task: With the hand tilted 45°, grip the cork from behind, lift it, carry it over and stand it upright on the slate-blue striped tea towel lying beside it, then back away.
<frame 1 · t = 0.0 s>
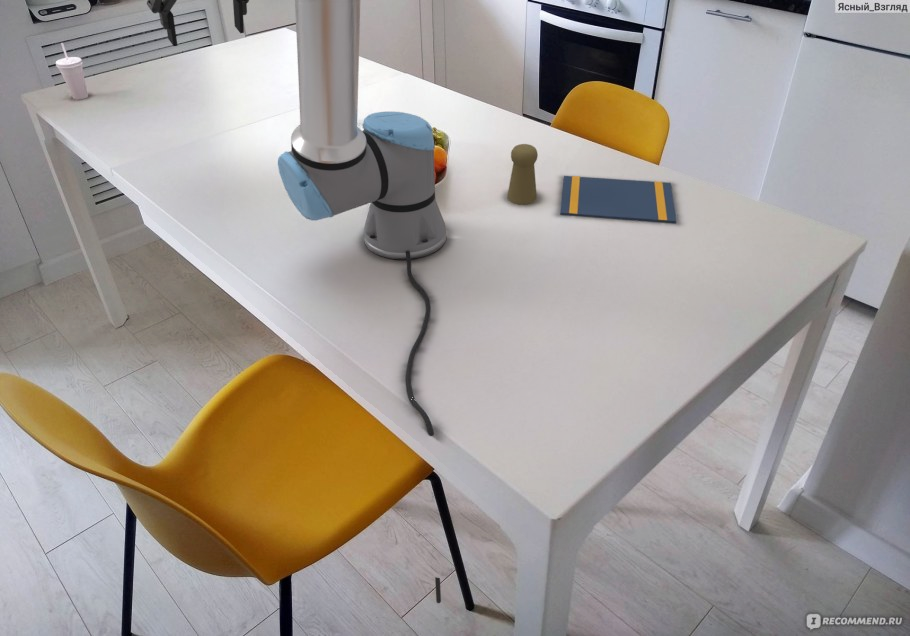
hand: (206, 35, 141), 28 cm above the table, tool tilted 20°, fingers open, 13 cm apart
smoothie: (80, 97, 193), on the table
stone sculpture: (331, 124, 176), on the table
cork: (522, 198, 145), on the table
towel: (616, 199, 144), on the table
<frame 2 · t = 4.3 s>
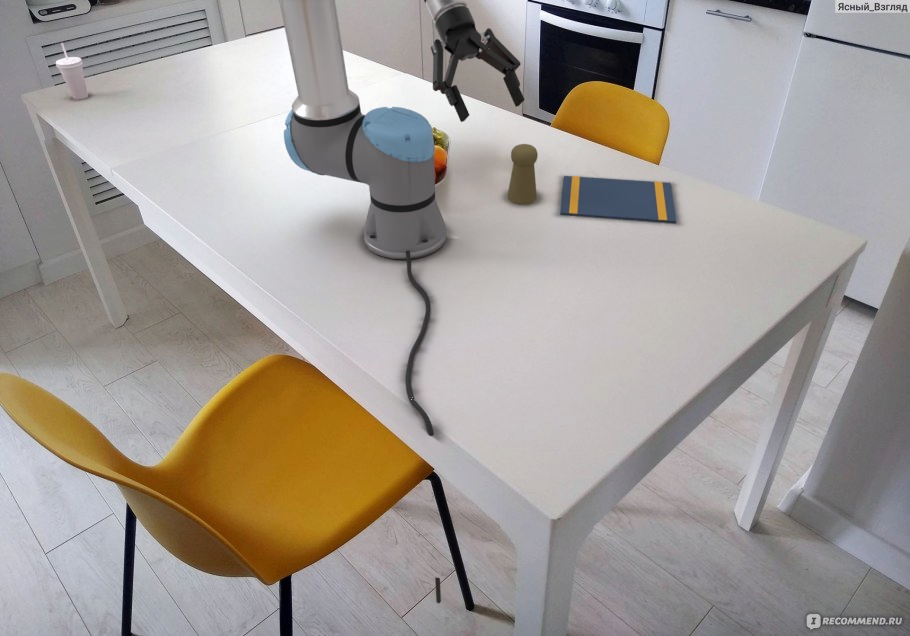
hand: (493, 111, 143), 15 cm above the table, tool tilted 45°, fingers open, 13 cm apart
nothing on the table moved.
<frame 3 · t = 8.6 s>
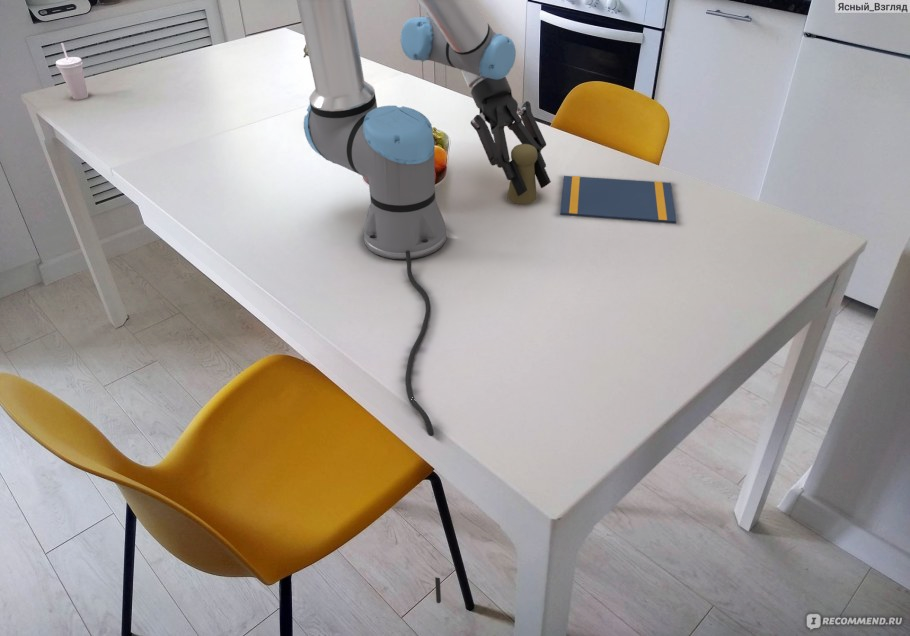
hand: (534, 188, 140), 3 cm above the table, tool tilted 45°, fingers closed on cork, 5 cm apart
cork: (521, 198, 145), on the table, touching gripper
everything else where it was.
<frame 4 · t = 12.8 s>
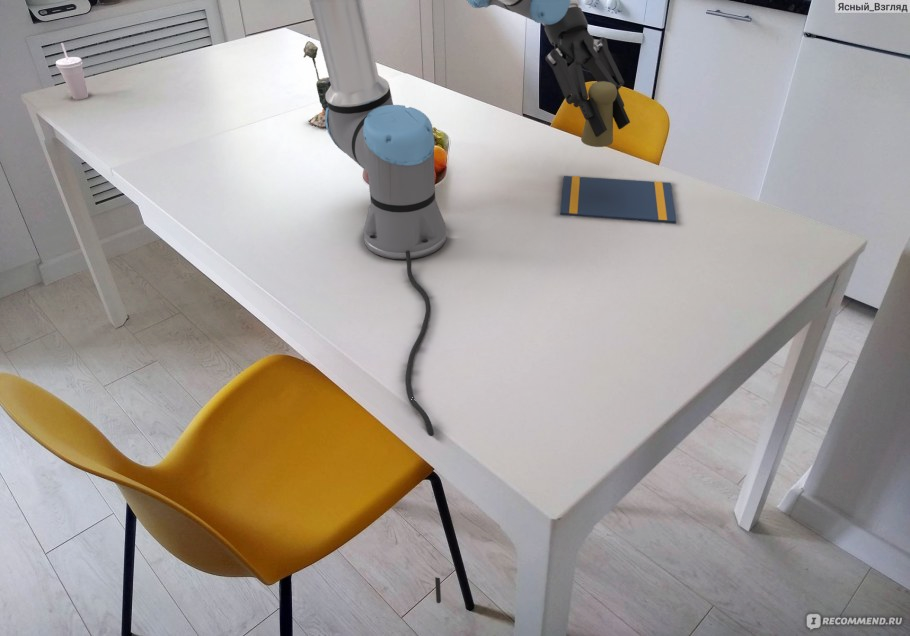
hand: (613, 129, 132), 16 cm above the table, tool tilted 45°, fingers closed on cork, 5 cm apart
cork: (596, 141, 137), point 12 cm above the table, touching gripper
everything else where it was.
when the fingers open (4 cm above the table, at t = 17.0 s): cork stays where it is, resting on towel.
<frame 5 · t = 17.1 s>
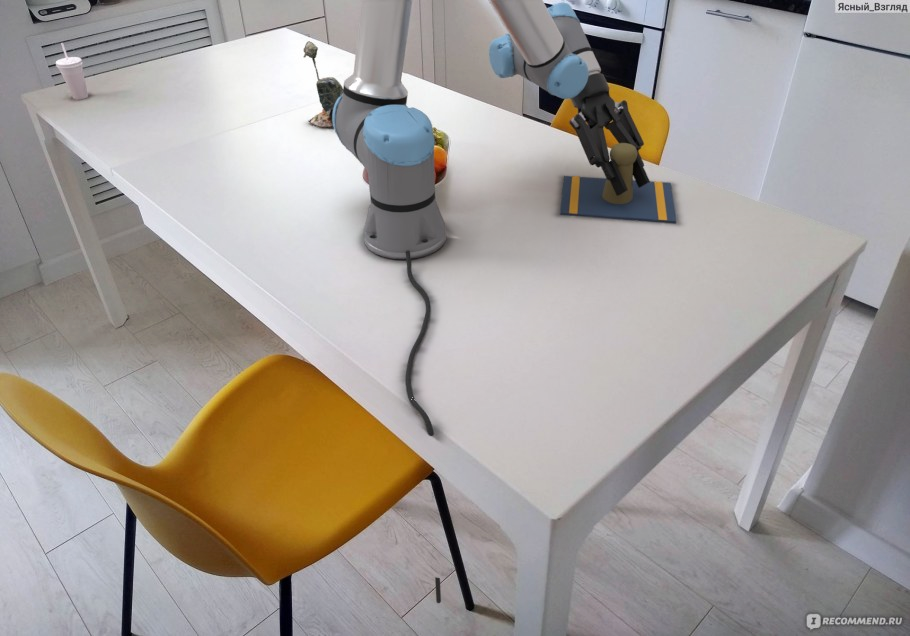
hand: (633, 188, 139), 4 cm above the table, tool tilted 45°, fingers open, 5 cm apart
cork: (617, 197, 144), resting on towel
everything else where it was.
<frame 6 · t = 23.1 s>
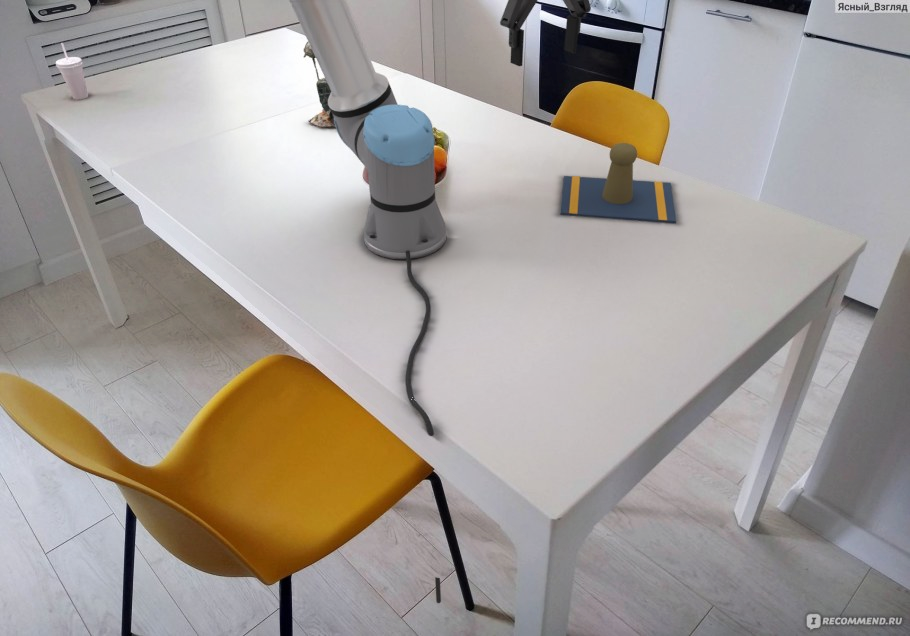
hand: (543, 58, 139), 24 cm above the table, tool pointing down, fingers open, 13 cm apart
nothing on the table moved.
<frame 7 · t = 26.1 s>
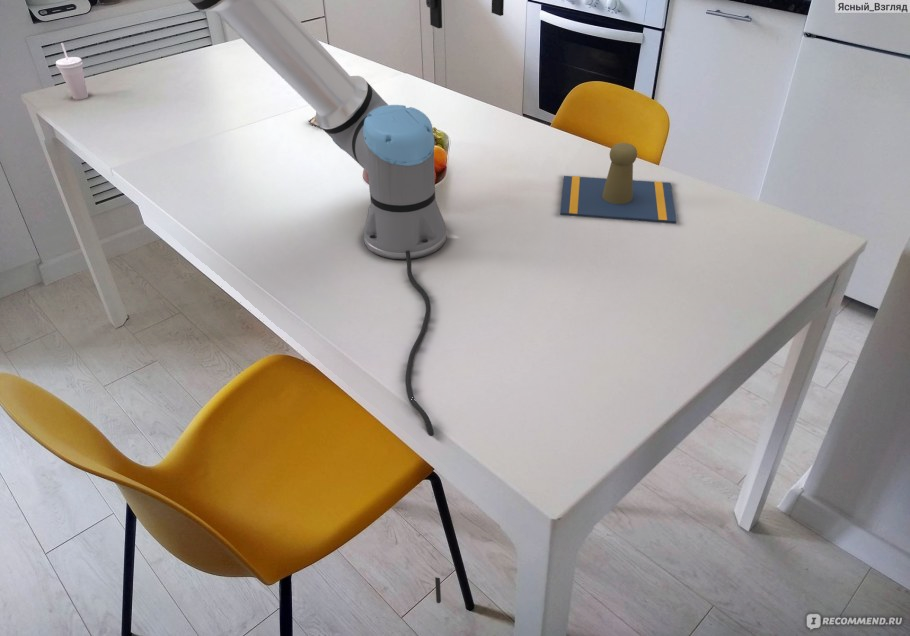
hand: (467, 20, 131), 33 cm above the table, tool pointing down, fingers open, 13 cm apart
nothing on the table moved.
at the end: cork inside the target area on the towel (0.1 cm from its centre), point 0.3 cm above the towel's base; cork tilted 0°; cork touching towel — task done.
